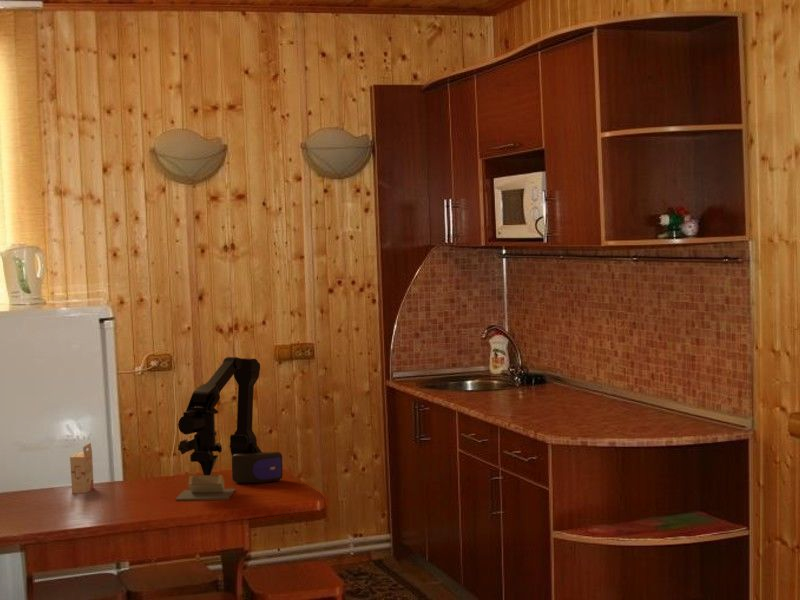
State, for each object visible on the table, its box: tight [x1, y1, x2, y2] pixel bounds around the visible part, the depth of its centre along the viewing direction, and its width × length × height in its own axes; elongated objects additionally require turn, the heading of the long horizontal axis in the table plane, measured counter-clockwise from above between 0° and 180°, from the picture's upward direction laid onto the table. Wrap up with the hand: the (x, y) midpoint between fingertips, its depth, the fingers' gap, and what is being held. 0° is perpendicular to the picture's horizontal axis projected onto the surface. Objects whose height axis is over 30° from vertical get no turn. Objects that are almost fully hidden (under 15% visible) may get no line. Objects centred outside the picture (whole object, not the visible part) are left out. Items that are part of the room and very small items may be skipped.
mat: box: [175, 488, 236, 502], centre depth 366 cm, size 13×16×1 cm
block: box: [188, 474, 225, 493], centre depth 367 cm, size 3×10×5 cm
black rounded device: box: [231, 451, 284, 484], centre depth 383 cm, size 16×5×9 cm, turn 99°
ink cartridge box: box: [69, 442, 95, 494], centre depth 378 cm, size 9×5×15 cm, turn 179°
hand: (207, 479), depth 369 cm, fingers closed
